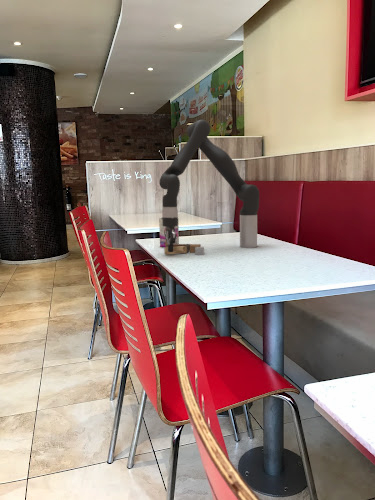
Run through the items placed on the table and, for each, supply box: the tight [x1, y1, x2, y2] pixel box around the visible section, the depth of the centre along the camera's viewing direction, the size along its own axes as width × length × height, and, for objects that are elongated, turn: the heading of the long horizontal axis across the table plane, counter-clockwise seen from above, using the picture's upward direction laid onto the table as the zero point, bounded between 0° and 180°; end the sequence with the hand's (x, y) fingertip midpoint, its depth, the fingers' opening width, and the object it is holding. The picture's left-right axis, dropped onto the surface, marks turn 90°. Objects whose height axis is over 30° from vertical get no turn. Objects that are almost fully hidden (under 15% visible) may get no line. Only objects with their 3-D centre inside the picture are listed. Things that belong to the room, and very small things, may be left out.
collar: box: [194, 246, 205, 256], centre depth 211 cm, size 4×4×4 cm
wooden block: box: [166, 243, 202, 254], centre depth 218 cm, size 7×18×4 cm, turn 82°
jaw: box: [163, 246, 188, 255], centre depth 213 cm, size 11×3×3 cm, turn 112°
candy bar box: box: [158, 217, 180, 249], centre depth 234 cm, size 11×5×16 cm, turn 42°
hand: (170, 251), depth 209 cm, fingers closed
